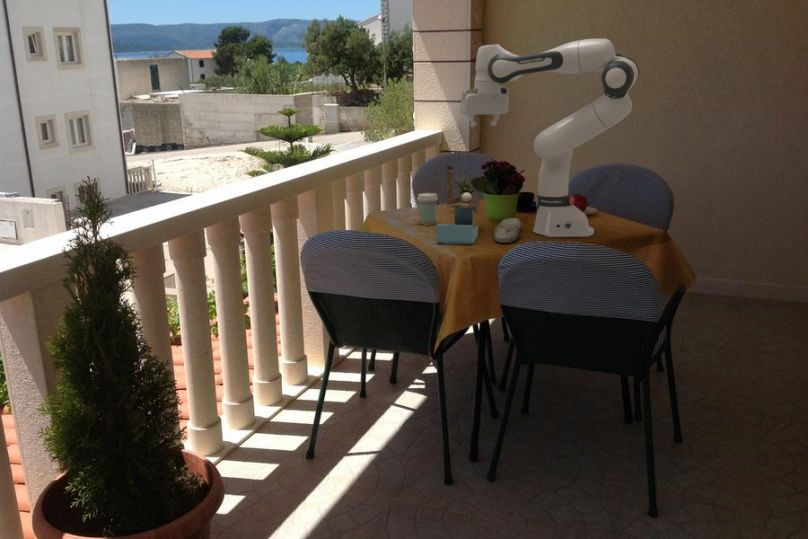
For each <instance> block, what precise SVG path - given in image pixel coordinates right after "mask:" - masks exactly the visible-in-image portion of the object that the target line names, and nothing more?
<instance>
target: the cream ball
mask: <svg viewBox="0 0 808 539" xmlns="http://www.w3.org/2000/svg"><path fill="white" fill-rule="evenodd" d="M471 195H472V193H471V194H470V192H469V193H464V194H463V195H462V201H463V202H465V203H469V200H470V199H472V196H471Z"/></svg>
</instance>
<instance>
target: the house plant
mask: <svg viewBox="0 0 808 539" xmlns="http://www.w3.org/2000/svg"><path fill="white" fill-rule="evenodd" d="M455 178H456V179H457V180H458V182H457V181H456V180H454V179H453V184H456V185H457V189H456V190H453V193H457V194H458V193H460V195H463V194H464V193H470V194H471V195H475V193H477V191H476V189H475V187H474V185H473V184H471V181H468V182H467V180H468V178H464V176H462V178H461V179H462V182H461V180H460V178H459V177H458V176H457V177H456V176H455Z"/></svg>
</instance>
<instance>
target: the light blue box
mask: <svg viewBox="0 0 808 539" xmlns="http://www.w3.org/2000/svg"><path fill="white" fill-rule="evenodd" d="M435 225H436V244H437V243H443V244H442V245H454V244H473V242H474V241H475V240H477V239H478V237H479V226H477V225H476V226H473V225H455V224H441V223H440V224H437V223H436V224H435ZM476 238H477V239H476ZM475 242H476V241H475ZM475 242H474V243H475ZM473 245H474V244H473Z"/></svg>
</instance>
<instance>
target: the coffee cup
mask: <svg viewBox="0 0 808 539" xmlns="http://www.w3.org/2000/svg"><path fill="white" fill-rule="evenodd" d="M416 200H417V205H418V206H417V207H418V212H419V220H420V224H421V225H422V224H433V223H435V224H436V218H437V217H436V216H437V206H438V201H439V197H438V195H437V193H434V192H424V193H418V194H417V198H416Z"/></svg>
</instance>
